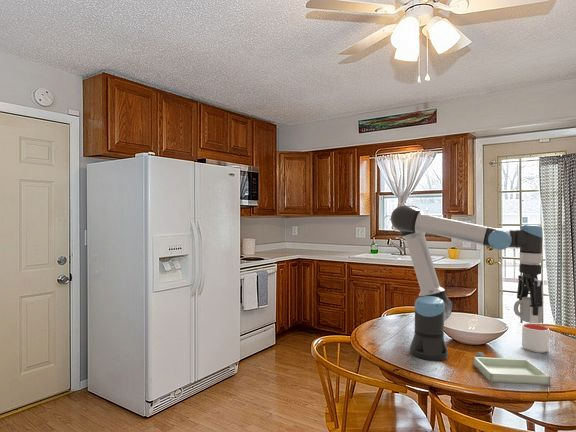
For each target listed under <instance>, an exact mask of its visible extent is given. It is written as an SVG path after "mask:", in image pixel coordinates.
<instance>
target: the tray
mask: <svg viewBox="0 0 576 432" xmlns="http://www.w3.org/2000/svg"><path fill="white" fill-rule="evenodd" d="M473 366H474V367H475V368H476V369H477V370H478V371H479V372H480V373H482V375H483V376H484V377H485V378H486V379H487V380H488V381H489V382H490V383H500V384H501V383H502V384H503V383H504V384H520V385H521V384H523V385H537V384H542V385H541V386H551V380H552V379H551V375H549V374H548V373H546V372H545V371H543V370H542V369H541V368H539V367H538V366H537V365H536V364H534V363H533V362H531V361H530V360H529V359H523V358H506V357H505V358H503V357H486V356H485V357H475V356H473Z"/></svg>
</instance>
